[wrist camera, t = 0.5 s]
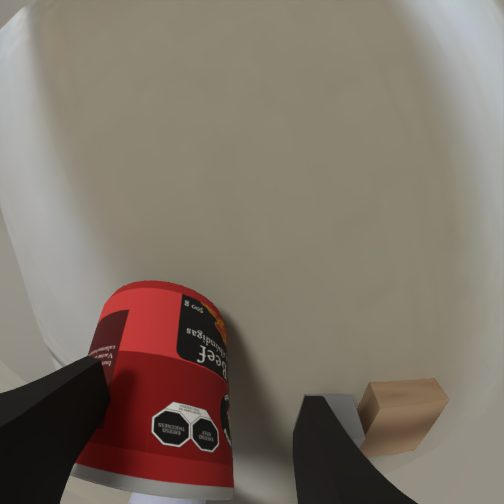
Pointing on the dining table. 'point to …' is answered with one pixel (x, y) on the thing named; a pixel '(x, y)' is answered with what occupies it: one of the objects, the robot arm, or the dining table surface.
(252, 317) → the dining table surface
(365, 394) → the walnut base
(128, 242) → the dining table surface
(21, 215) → the dining table surface
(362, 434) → the grey block
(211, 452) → the canned food
